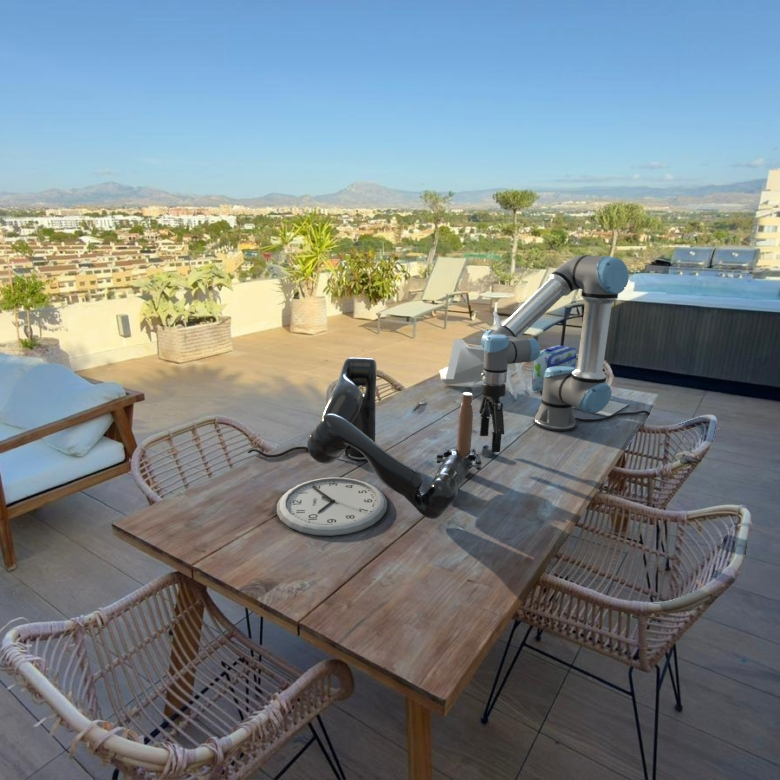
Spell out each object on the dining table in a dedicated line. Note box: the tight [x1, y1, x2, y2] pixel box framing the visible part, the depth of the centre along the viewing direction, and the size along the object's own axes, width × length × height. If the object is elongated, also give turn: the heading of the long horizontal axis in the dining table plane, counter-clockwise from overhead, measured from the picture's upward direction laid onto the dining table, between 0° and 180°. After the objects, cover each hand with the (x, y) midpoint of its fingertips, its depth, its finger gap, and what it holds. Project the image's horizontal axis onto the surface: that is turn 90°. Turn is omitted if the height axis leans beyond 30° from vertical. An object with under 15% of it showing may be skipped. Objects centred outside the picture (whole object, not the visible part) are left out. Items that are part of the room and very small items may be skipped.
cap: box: [481, 445, 495, 458], centre depth 176 cm, size 4×4×2 cm
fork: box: [413, 396, 428, 412], centre depth 222 cm, size 3×16×2 cm, turn 160°
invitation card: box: [573, 399, 629, 417], centre depth 226 cm, size 21×1×15 cm
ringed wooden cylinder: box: [456, 391, 474, 476], centre depth 159 cm, size 4×4×26 cm
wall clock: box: [276, 476, 388, 537], centre depth 142 cm, size 30×2×30 cm
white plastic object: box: [438, 310, 531, 400], centre depth 245 cm, size 37×45×31 cm
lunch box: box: [531, 345, 577, 394], centre depth 245 cm, size 26×11×21 cm, turn 134°
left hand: (465, 449), depth 163 cm, fingers closed on ringed wooden cylinder, 4 cm apart
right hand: (489, 443), depth 175 cm, fingers open, 13 cm apart
